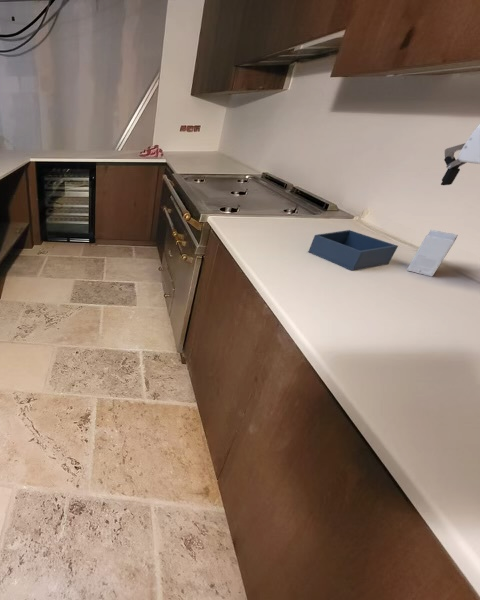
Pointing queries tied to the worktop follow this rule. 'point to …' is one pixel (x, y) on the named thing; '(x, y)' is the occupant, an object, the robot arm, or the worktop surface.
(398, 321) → the worktop surface
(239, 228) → the worktop surface
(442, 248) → the small box
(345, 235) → the tray
